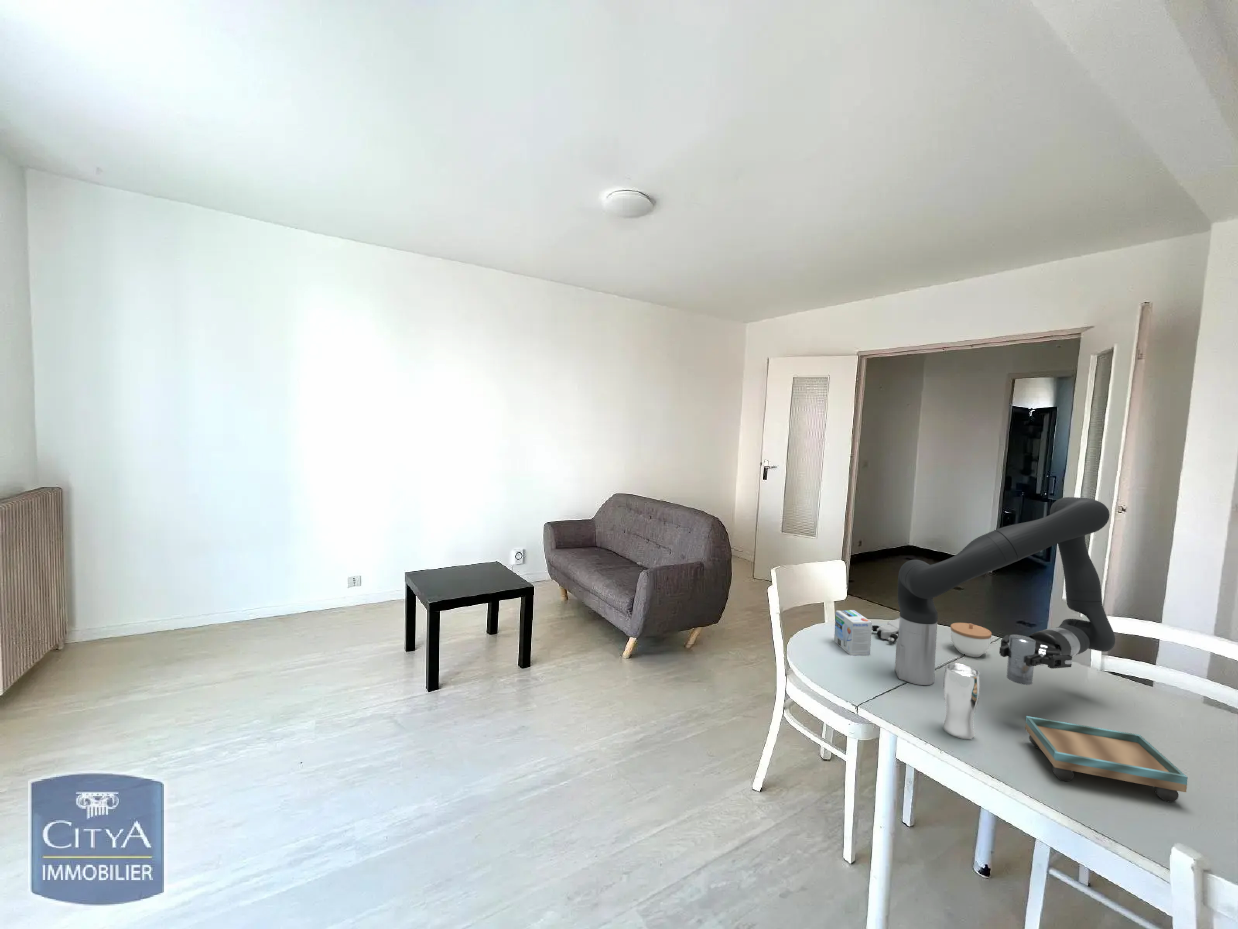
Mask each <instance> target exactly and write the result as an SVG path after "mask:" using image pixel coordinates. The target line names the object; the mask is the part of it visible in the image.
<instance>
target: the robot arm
mask: <svg viewBox="0 0 1238 929" xmlns="http://www.w3.org/2000/svg"><path fill="white" fill-rule="evenodd" d="M1110 516H1111V515H1110V510H1109V508H1108V507H1107V506H1106V505H1105V503H1104V502H1102V501H1099V500H1097V499H1093V498H1088V497H1075V496H1073V497H1072V496H1068V497H1066V496H1065V497H1061V498H1059V499H1057V500H1055V501H1054V502H1053V503H1052V505H1051V506H1050V509H1049V515H1047V516H1044V517H1040V518H1039V519H1038V518H1037V519H1034V520H1030V521H1026V522H1021V523H1014V524H1012V525H1011V524H1010V525H1007V526H1003V527H999V528H997V529H996V528H995V530H992V531H989V532H987V533H985V534H982V535H980V536H978V537H975V538H974V539H973V540H971V541H970V542H969V543H968V544H967V545H966V546H964V548H962V549H961V550H960V551H959V552H958V553H957V554H954V556H952V557H949V558H947V559H944V560H942V561H938V562H936V563H932V564H929V563H927V562H926V561H923V560H920V559H910V560H907V561H906V562H904V563H903V564H902V565H901V566H900V568H899V571H898V577H897V578H898V579H897V604H898V607H899V636H898V638H897V640H896V641H895V642H896V644H895V646H896V647H895V660H894V664H895V665H894V671H895V673H896V676H897V678H898V679H899V680H902V681H905V682H907V683H911V684H915V685H919V686H929V685H932V684H934V682H935V675H936V674H935V673H936V672H935V669H936V654H937V653H936V652H937V636H938V617H939V615H938V614H939V612H938V610H937V608H936V605H935V604H934V603H935V602H934V598H936V597H940V596H941V595H943V594H945V593H946V592H948V591H950V590H953V589H954V588H956V587H958V586H959V585H962V584H964V583H966V582H968V581H970V580H973V579H975V578H978V577H981V576H983V575H985V574H988V573H990V572H992V571H995V570H998V569H1001V568H1003V567H1006V566H1008V565H1011V564H1013V563H1016V562H1018V561H1021V560H1022V559H1025V558H1027V557H1029V556H1033V555H1035V554H1037V553H1039V552H1042V551H1044V550H1046V549H1048V548H1050V547H1053V546H1055V545H1057V546H1058V549H1059V550H1058V551H1059V555H1060V559H1061V564H1062V570H1063V576H1064V587H1065V597H1066V598H1065V599H1066V606H1067V607H1068V609H1070V610H1071V611H1073V612H1077V613H1078V614H1081V615H1084V616H1085V617H1086V618H1087V619H1088V621H1087V620H1083V619H1078V618H1066V619H1063V620H1062V622H1061V623H1060V624H1059V626H1057V627H1051V628H1046V629H1043V630H1039V631H1036V632H1033V633H1031V634H1030V635H1029V636H1028V637H1029V638H1032V639H1034V640H1035V641H1036V644H1035V654H1034V655H1031V656H1028V657H1027V659H1026V666H1029V667H1032V666H1034V667H1036V666H1040V667H1041V666H1045V665H1047V668H1049V669H1063V668H1064V669H1066V668H1072V666H1073V657H1075V656H1077V655H1080V654H1083V653H1084V652H1085V653H1086V651H1087V650H1093V651H1097V652H1104V653H1105V652H1107V653H1108V652H1109V651H1111V650H1112V649H1114V647H1115V644H1116V635H1115V632H1114V630H1113V627H1112V626H1111V623H1110V621H1109V618H1108V617H1107V614H1106V611H1105V608H1104V605H1103V597H1102V596H1103V594H1102V586H1101V580H1100V577H1099V574H1098V572H1097V570H1096V567H1095V564H1094V563H1093V561H1092V559H1091V556H1090V554H1089V552H1088V547H1087V544H1086V543H1087V542H1086V536H1087V535H1090V534H1094V533H1096V532H1098V531H1100V530H1102V529H1103V528H1104V527H1105V526H1106V525H1107V523H1108V522H1109V520H1110ZM1010 635H1011V634H1005V635H1004V637H1003V638H1001V639H1000V647H999V655H1000V657H1002V658H1006V657H1007V658H1008V652H1009V639H1010Z"/></svg>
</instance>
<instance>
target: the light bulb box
mask: <svg viewBox="0 0 1238 929" xmlns="http://www.w3.org/2000/svg"><path fill="white" fill-rule="evenodd" d="M834 615H835V619H834V634H833V636H834V637H833V638H834V640H833V641H834V643H836V645H838V646H839V647H840V648H842V649H843V651H845V652H846V653H847V654H848V655H849V654H850V656H870V655H871V646H872V630H871V629H872V625H873V622H872V621H871V620H870V619H868V618H867V617H865V616H863V615H862V614H861V613H859V612H858V611H856V610H855V609H847V610H846V609H845V610H842V609H840V610H835V614H834Z"/></svg>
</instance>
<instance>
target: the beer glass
mask: <svg viewBox="0 0 1238 929" xmlns="http://www.w3.org/2000/svg"><path fill="white" fill-rule="evenodd" d="M980 694H981V673H980V671H979V670H978V669H976V668H974V667H972V666H969V665H966V664H964V663H956V662H955V663H954V662H952V663H951V662H949V663H946V664H945V672H944V677H943V696H944V702H945V719H944V722H943V725H942V727H943V730H944V731H945V732H946V733H947V734H948V735H951V736H952V737H954V738H957V739H960V740H966V741H967V740H973V739H974V738H975V734H976V733H975V728H974V727H975V726H974V721H975V720H974V719H975V714H976V711H977V707H978V704H979V700H980Z"/></svg>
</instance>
